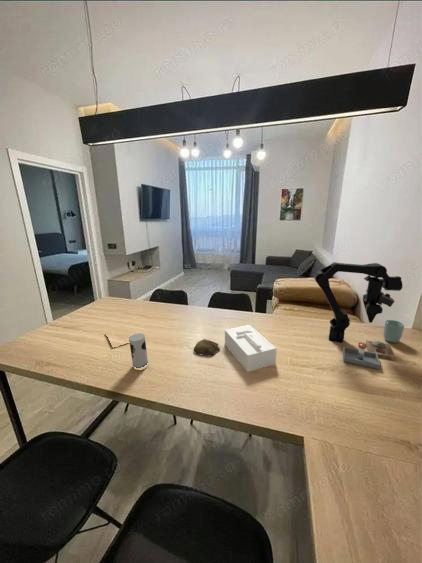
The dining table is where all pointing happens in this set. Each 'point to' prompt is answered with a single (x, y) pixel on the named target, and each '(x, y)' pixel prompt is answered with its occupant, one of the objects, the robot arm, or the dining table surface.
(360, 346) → the lock pin
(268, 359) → the white rectangular block
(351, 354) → the tray
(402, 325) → the cup
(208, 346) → the dark brown rock
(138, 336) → the grey cylinder
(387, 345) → the block
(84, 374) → the dining table surface
